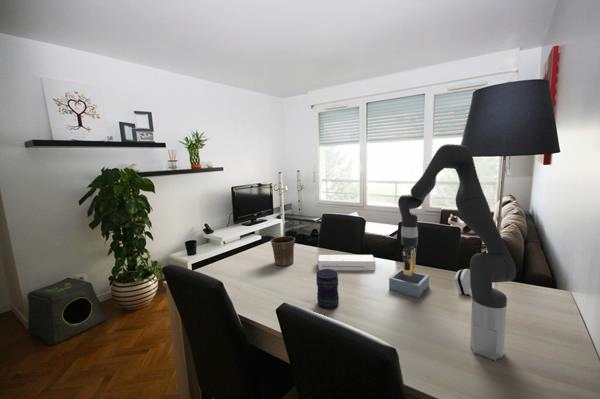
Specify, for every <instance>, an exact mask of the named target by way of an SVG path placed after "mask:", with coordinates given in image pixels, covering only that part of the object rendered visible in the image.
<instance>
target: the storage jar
mask: <svg viewBox="0 0 600 399" xmlns="http://www.w3.org/2000/svg"><path fill="white" fill-rule="evenodd" d="M316 286H317V293H316V295H317V297H316V298H317V307H319V308H320V309H321V310H327V311H332V310H335V309H338V307H339V304H340V303H339V300H340V298H339V287H338V286H339V273H338V270H332V269H323V270H317V271H316Z"/></svg>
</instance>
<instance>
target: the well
mask: <svg viewBox="0 0 600 399" xmlns="http://www.w3.org/2000/svg"><path fill="white" fill-rule="evenodd" d="M429 287H430V275H429V274H424V273H422V272H416V271H415V274H413V275H412V276H408V275H404V274H403V268H400V269H399V270H397V271H396V272H395V273H393V274H392V275H391V276H390V277H389V278H388V290H390V291H393V292H397V293H400V294H402V295H408V296H411V297H413V298H417V299H419V298H421V297H422V296H423V294H424V293H425V292H426V290H428V288H429Z"/></svg>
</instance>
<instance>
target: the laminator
mask: <svg viewBox="0 0 600 399" xmlns="http://www.w3.org/2000/svg"><path fill="white" fill-rule="evenodd" d="M317 269H318V270H317V271H319V270H323V269H332V270H335V271H361V270H374V271H376V260H375V257H374V255H373V254H318V257H317Z"/></svg>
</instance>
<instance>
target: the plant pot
mask: <svg viewBox="0 0 600 399" xmlns="http://www.w3.org/2000/svg"><path fill="white" fill-rule="evenodd" d="M295 241H296V238H295V237H293V236H278V237H277V236H276V237H274V238H272V239H270V244H271V247H272V251H273V257H274V263H276V264H277V265H276V264H275V265H276V266H279V265H288V266H290V264H291V265H292V263H293V264H294V254H295V252H294V251H295Z"/></svg>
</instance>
